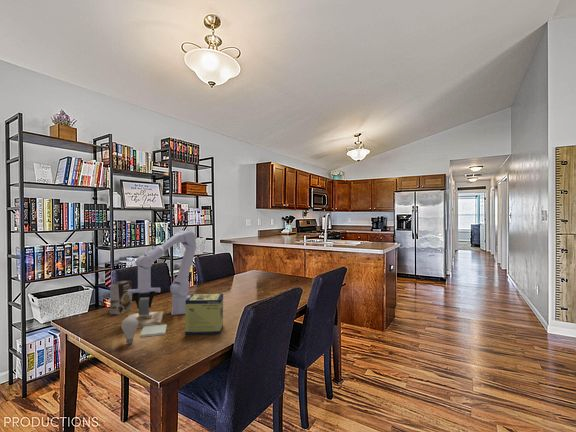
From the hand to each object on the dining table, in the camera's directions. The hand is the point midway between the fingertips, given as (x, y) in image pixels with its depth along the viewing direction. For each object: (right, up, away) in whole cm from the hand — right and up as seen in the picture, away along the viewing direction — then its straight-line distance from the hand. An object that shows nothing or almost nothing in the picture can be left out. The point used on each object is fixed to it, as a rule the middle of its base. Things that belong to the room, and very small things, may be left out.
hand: (144, 307), depth 150 cm
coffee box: (-19, -7, +15) cm, 25 cm away
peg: (0, -3, 0) cm, 3 cm away
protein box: (+33, -8, -11) cm, 35 cm away
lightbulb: (+6, -7, -25) cm, 27 cm away
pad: (+10, -7, -12) cm, 18 cm away
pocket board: (0, -7, 0) cm, 7 cm away
